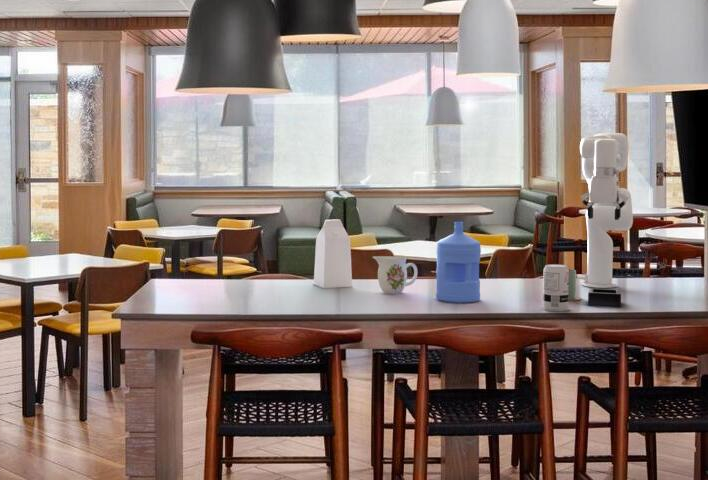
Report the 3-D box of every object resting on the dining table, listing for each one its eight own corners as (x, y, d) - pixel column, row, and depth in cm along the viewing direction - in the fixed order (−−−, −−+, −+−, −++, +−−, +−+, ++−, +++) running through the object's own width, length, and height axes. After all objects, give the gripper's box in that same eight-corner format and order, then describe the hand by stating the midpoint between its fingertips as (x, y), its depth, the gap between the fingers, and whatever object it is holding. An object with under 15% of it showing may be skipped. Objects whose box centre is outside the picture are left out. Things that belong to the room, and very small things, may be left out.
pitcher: (422, 293, 363) (422, 257, 362) (376, 295, 358) (376, 258, 358) (412, 289, 373) (412, 254, 372) (367, 291, 369) (367, 255, 368)
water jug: (427, 298, 353) (428, 221, 351) (464, 295, 359) (465, 219, 357) (451, 304, 339) (451, 224, 337) (488, 301, 345) (489, 223, 343)
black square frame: (587, 305, 336) (588, 292, 336) (588, 301, 347) (588, 288, 346) (620, 307, 333) (621, 294, 333) (620, 302, 343) (620, 289, 343)
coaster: (548, 299, 350) (548, 298, 350) (557, 295, 359) (557, 294, 359) (575, 301, 345) (575, 300, 345) (584, 298, 353) (584, 297, 353)
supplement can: (539, 307, 332) (540, 264, 331) (563, 307, 333) (563, 263, 332) (547, 311, 324) (548, 267, 323) (571, 311, 325) (572, 267, 324)
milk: (341, 282, 391) (341, 218, 390) (352, 286, 380) (352, 220, 379) (313, 284, 388) (313, 219, 386) (323, 288, 377) (323, 221, 375)
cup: (554, 298, 351) (555, 270, 350) (560, 295, 356) (561, 268, 355) (571, 299, 347) (572, 271, 346) (577, 297, 352) (578, 269, 352)
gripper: (631, 172, 356) (630, 219, 357) (584, 172, 366) (583, 217, 367) (625, 173, 350) (624, 220, 351) (578, 172, 359) (577, 218, 360)
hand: (603, 219), depth 359 cm, fingers open, 9 cm apart
